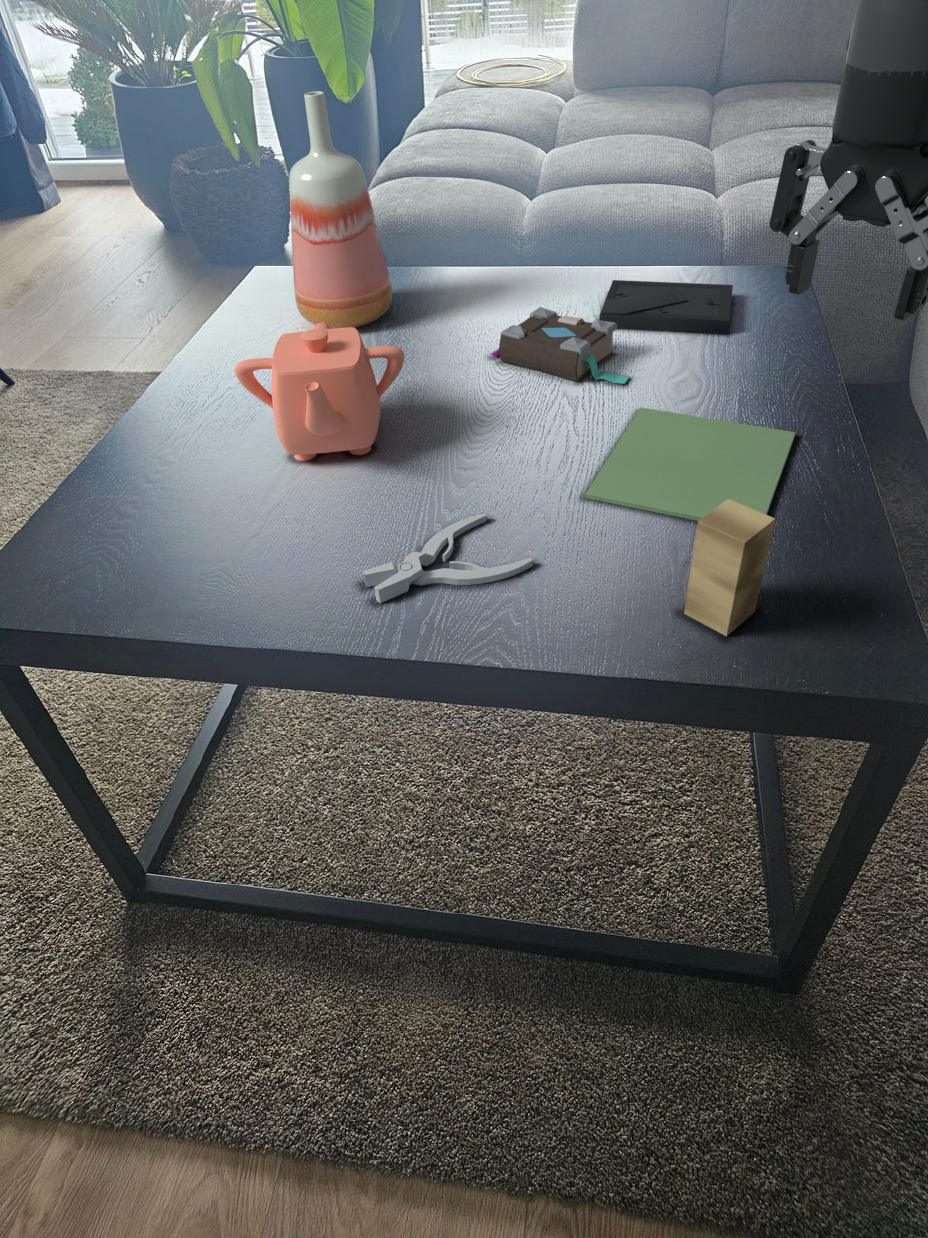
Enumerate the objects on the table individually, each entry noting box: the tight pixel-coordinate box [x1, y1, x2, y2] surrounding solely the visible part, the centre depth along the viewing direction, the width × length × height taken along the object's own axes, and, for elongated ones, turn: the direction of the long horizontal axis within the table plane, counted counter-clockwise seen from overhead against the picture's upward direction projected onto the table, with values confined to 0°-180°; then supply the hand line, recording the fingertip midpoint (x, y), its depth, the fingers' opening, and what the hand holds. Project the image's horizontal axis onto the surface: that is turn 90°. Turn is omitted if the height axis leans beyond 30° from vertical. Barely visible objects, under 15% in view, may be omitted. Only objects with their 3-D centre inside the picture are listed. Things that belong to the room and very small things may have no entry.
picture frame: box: [599, 279, 734, 335], centre depth 124 cm, size 13×2×18 cm
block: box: [683, 499, 776, 637], centre depth 72 cm, size 4×4×10 cm
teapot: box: [234, 323, 405, 462], centre depth 98 cm, size 17×16×13 cm
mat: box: [584, 407, 797, 522], centre depth 93 cm, size 18×20×1 cm
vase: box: [288, 90, 393, 329], centre depth 121 cm, size 14×14×30 cm
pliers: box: [363, 512, 534, 604], centre depth 82 cm, size 10×2×15 cm
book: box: [490, 306, 630, 385], centre depth 114 cm, size 20×12×5 cm, turn 54°
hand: (849, 303), depth 66 cm, fingers open, 8 cm apart
